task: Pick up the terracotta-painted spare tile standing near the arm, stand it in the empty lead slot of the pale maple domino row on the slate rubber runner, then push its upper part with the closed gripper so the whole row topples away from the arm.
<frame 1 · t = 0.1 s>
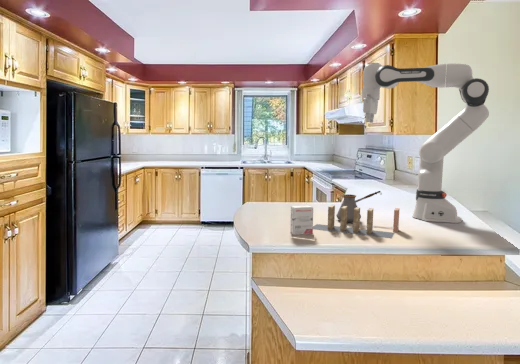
hand: (369, 122, 203), 48 cm above the worktop, fingers open, 8 cm apart
domino 1: (395, 232, 166), on the worktop
domino 3: (356, 231, 164), point 1 cm above the worktop, touching runner mat
coffee pot: (358, 222, 185), on the worktop
ink box: (301, 234, 161), on the worktop
runner mat: (351, 232, 165), on the worktop
domino 5: (330, 228, 169), point 1 cm above the worktop, touching runner mat
domino 2: (369, 232, 162), point 1 cm above the worktop, touching runner mat
domino 4: (343, 229, 167), point 1 cm above the worktop, touching runner mat
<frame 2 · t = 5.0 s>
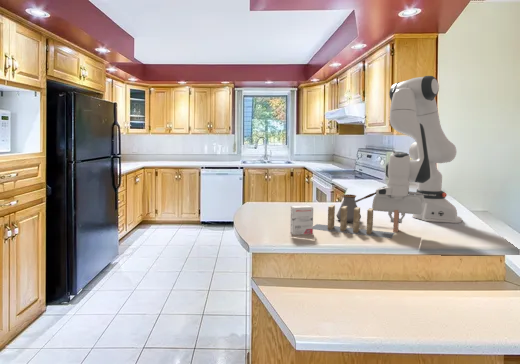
hand: (396, 222, 166), 4 cm above the worktop, fingers closed on domino 1, 2 cm apart
domino 1: (395, 232, 166), on the worktop, touching gripper
everything else where it was.
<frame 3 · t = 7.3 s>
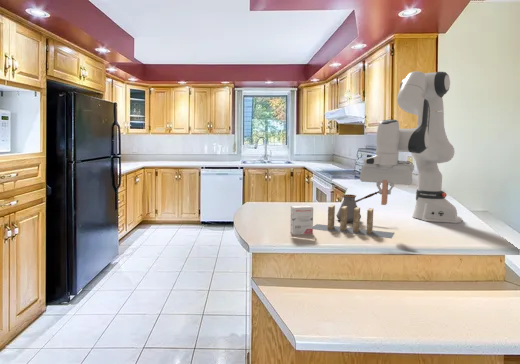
hand: (384, 194, 158), 17 cm above the worktop, fingers closed on domino 1
domino 1: (384, 203, 158), point 13 cm above the worktop, touching gripper
everything else where it was.
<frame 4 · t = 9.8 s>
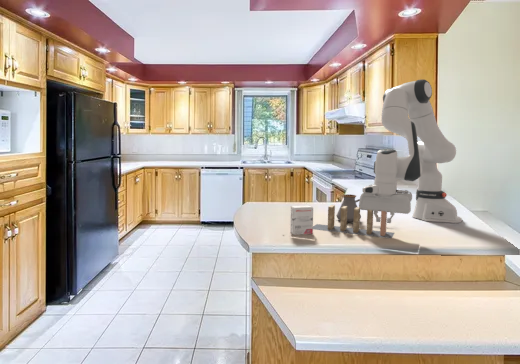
hand: (383, 222, 159), 6 cm above the worktop, fingers open, 3 cm apart
domino 1: (383, 234, 160), point 1 cm above the worktop, touching runner mat
everything else where it was.
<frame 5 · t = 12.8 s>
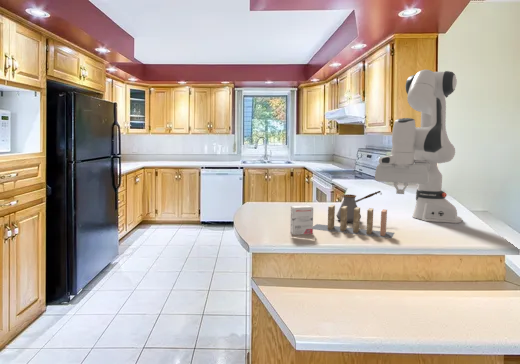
hand: (400, 193, 155), 18 cm above the worktop, fingers closed
nothing on the worktop moved.
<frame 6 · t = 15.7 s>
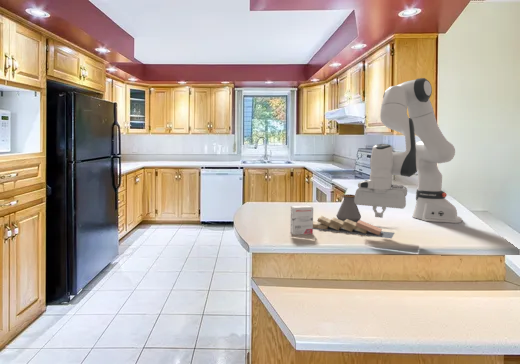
hand: (378, 217, 160), 8 cm above the worktop, fingers closed
domino 1: (380, 232, 160), point 1 cm above the worktop, tilted 73°, touching domino 2, runner mat
domino 3: (353, 229, 165), point 1 cm above the worktop, tilted 73°, touching domino 2, domino 4, runner mat
domino 5: (328, 226, 169), point 1 cm above the worktop, tilted 90°, touching domino 4, runner mat
domino 2: (367, 230, 162), point 1 cm above the worktop, tilted 73°, touching domino 1, domino 3, runner mat
domino 4: (340, 227, 167), point 1 cm above the worktop, tilted 72°, touching domino 3, domino 5
everything else where it was.
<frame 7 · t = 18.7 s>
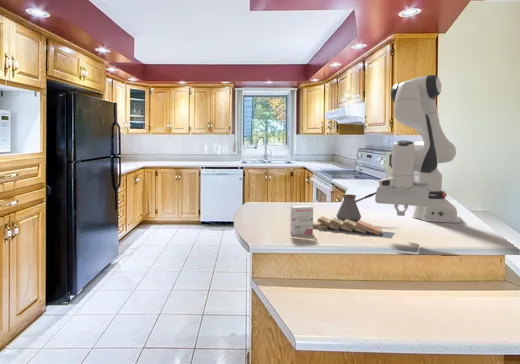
hand: (400, 215, 156), 9 cm above the worktop, fingers closed
domino 4: (340, 227, 167), point 1 cm above the worktop, tilted 72°, touching domino 3, domino 5, runner mat
everything else where it was.
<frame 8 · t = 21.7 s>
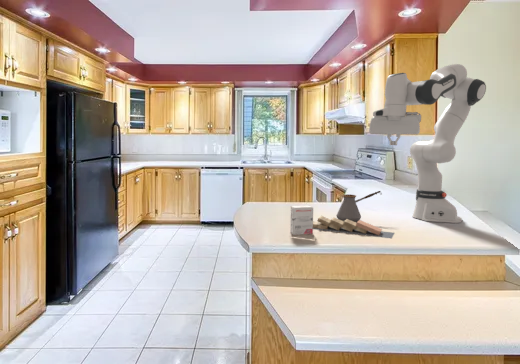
hand: (393, 145, 165), 37 cm above the worktop, fingers closed
nothing on the worktop moved.
at the end: domino 5 tilted 90°; domino 1 tilted 73°; the gripper is holding nothing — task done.
